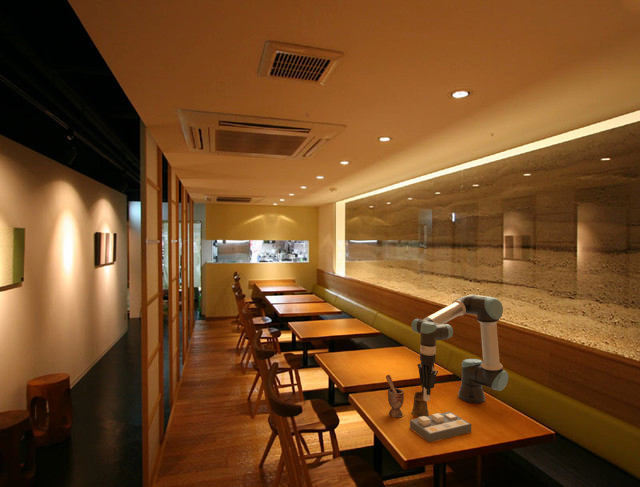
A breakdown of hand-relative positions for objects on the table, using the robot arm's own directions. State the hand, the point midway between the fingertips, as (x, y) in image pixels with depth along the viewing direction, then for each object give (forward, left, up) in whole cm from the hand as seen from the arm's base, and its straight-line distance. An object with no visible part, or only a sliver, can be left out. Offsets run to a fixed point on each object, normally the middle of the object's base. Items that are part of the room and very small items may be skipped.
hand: (426, 400), depth 188 cm
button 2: (-16, 0, -14) cm, 21 cm away
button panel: (-7, +2, -15) cm, 17 cm away
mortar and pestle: (+5, -22, -16) cm, 27 cm away
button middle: (-7, 0, -13) cm, 15 cm away
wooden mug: (-11, -17, -16) cm, 26 cm away
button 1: (+1, 0, -13) cm, 13 cm away
